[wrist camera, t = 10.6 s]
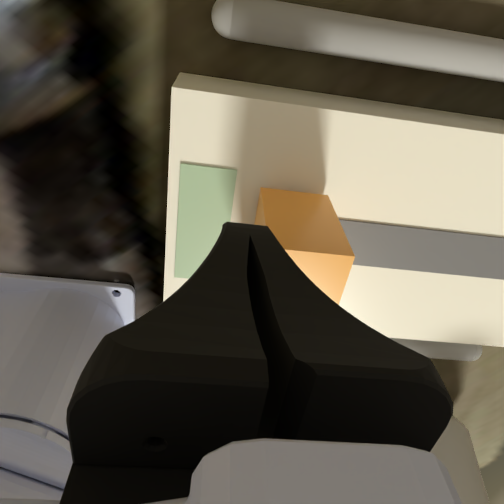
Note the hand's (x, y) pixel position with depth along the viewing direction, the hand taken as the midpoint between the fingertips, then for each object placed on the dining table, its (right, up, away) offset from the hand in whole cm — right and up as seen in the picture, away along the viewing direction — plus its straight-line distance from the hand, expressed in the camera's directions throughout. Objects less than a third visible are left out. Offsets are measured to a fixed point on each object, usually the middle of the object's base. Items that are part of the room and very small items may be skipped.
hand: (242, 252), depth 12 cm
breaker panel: (+7, +2, +10) cm, 13 cm away
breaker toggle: (+2, +1, +7) cm, 7 cm away
